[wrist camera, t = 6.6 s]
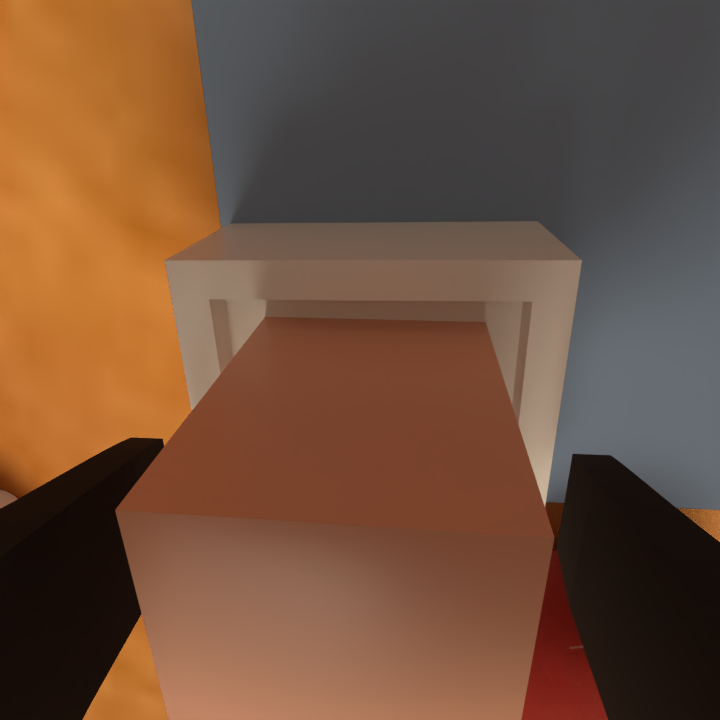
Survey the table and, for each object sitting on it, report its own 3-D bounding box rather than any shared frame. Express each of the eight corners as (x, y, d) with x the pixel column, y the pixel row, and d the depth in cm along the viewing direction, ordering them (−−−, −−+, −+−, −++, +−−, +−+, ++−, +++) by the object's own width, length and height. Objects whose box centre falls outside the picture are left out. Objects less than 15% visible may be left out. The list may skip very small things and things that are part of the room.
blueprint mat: (987, -332, 9) (1011, -352, 8) (720, 501, 16) (727, 510, 15) (165, -248, 10) (157, -262, 10) (258, 481, 17) (255, 489, 17)
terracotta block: (485, 321, 11) (554, 536, 5) (468, 501, 12) (506, 799, 7) (264, 316, 11) (115, 509, 6) (280, 491, 13) (180, 763, 7)
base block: (537, 221, 13) (582, 260, 9) (508, 480, 16) (534, 581, 12) (230, 223, 13) (164, 260, 10) (261, 469, 16) (218, 562, 13)
